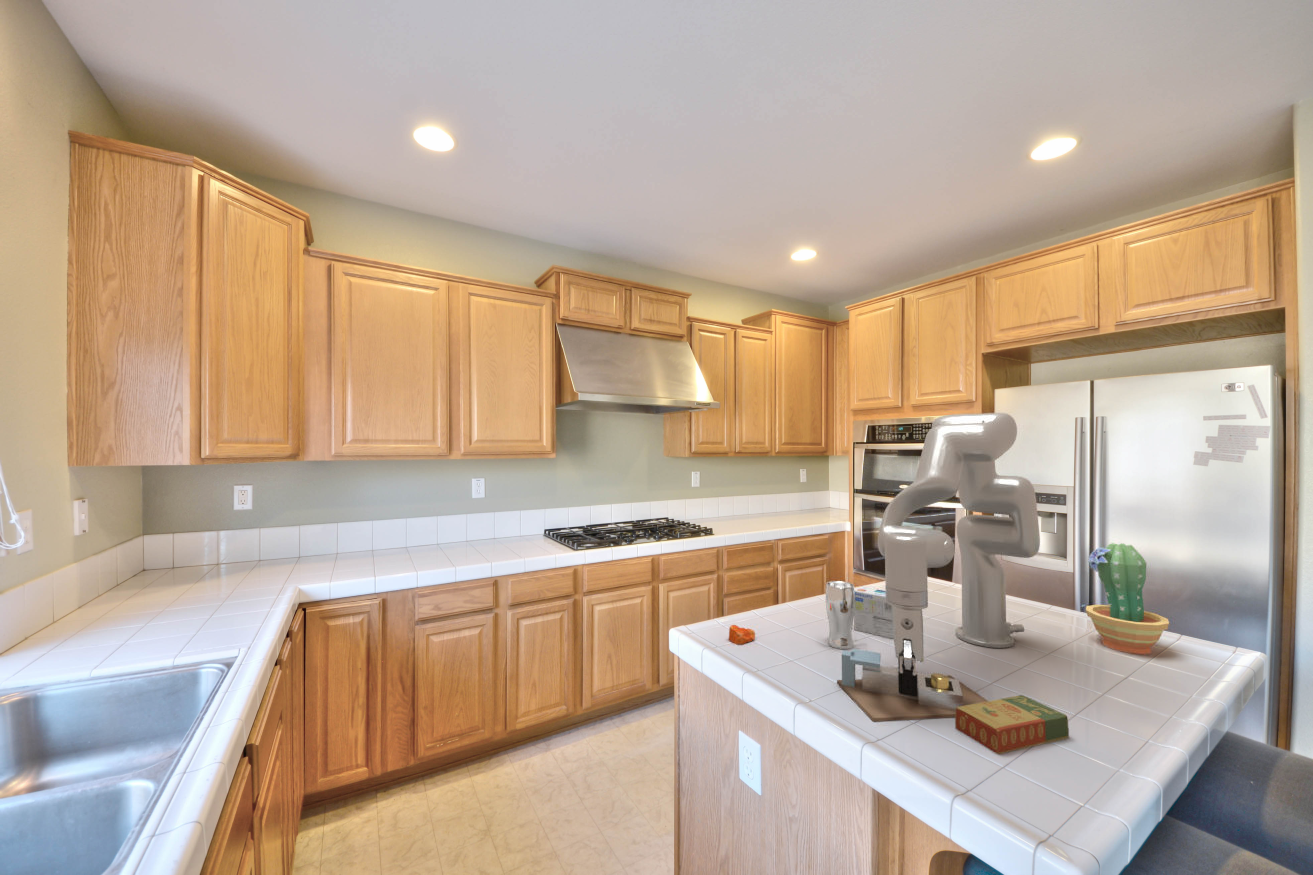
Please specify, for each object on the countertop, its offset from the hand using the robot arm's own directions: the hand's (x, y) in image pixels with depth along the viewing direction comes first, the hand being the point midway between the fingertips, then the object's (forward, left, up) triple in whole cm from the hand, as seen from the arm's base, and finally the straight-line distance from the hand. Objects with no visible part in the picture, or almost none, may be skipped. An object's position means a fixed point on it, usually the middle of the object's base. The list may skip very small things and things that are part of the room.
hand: (907, 683), depth 101 cm
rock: (+25, -33, -4) cm, 41 cm away
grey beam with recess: (0, 0, -2) cm, 2 cm away
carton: (-11, +13, -3) cm, 17 cm away
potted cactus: (-68, -19, -3) cm, 71 cm away
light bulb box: (-13, -35, -3) cm, 38 cm away
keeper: (+7, -4, -3) cm, 8 cm away
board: (-1, 0, -3) cm, 3 cm away
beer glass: (+1, -27, -3) cm, 27 cm away
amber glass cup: (-5, +3, -3) cm, 6 cm away
